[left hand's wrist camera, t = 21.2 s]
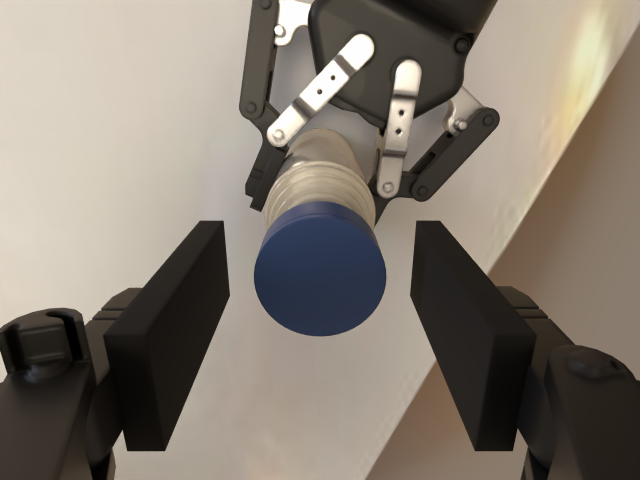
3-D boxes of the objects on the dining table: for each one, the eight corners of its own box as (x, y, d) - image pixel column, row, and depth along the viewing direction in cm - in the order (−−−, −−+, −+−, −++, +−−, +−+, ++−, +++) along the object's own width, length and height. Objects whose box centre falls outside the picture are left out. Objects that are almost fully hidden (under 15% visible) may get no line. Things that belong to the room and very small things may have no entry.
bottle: (289, 124, 29) (247, 185, 12) (358, 132, 29) (410, 203, 13) (283, 192, 31) (239, 327, 14) (349, 199, 31) (383, 341, 14)
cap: (304, 176, 13) (302, 190, 12) (402, 243, 14) (413, 265, 12) (239, 270, 14) (228, 294, 13) (333, 327, 15) (335, 357, 14)
